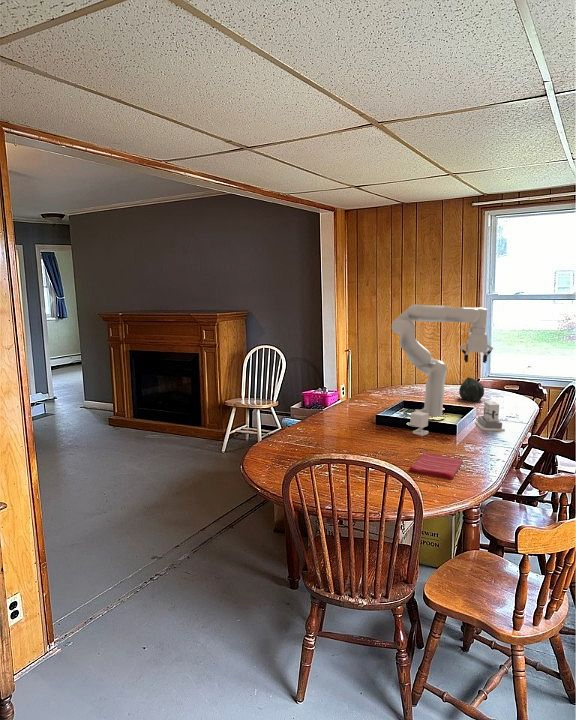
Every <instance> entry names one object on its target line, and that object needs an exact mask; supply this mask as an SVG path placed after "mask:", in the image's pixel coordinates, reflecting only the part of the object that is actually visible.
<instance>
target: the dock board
mask: <svg viewBox="0 0 576 720" xmlns="http://www.w3.org/2000/svg"><path fill="white" fill-rule="evenodd" d="M474 424H475V425H476V426H478V427H479V429H481V430H482V431H492V432H493V431H496V432H497V431H499V432H505V430H506V429H505V428H504V427H503V422H502V421H501V420H499V419H498V422H486V421H485V420H484V419H483V415H478V417H477V420H474Z"/></svg>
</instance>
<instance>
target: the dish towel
mask: <svg viewBox="0 0 576 720" xmlns="http://www.w3.org/2000/svg"><path fill="white" fill-rule="evenodd" d="M462 463H463V459H462V458H456V457H451V456H446V455H440V454H434V453H429V452H426V451H423V452H422V454H421V456H419V458H417V460H416V461H415V462H414V463H413V465H411V466H410V467H409V468H408V471H409V472H411V473H415V474H420V475H425V476H429V477H430V476H431V477H435V478H439V479H445V480H449V481H451V480H453V478H454V477H455V476H456V474H457V473H458V471H459V469H460V468H461V466H462Z"/></svg>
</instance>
